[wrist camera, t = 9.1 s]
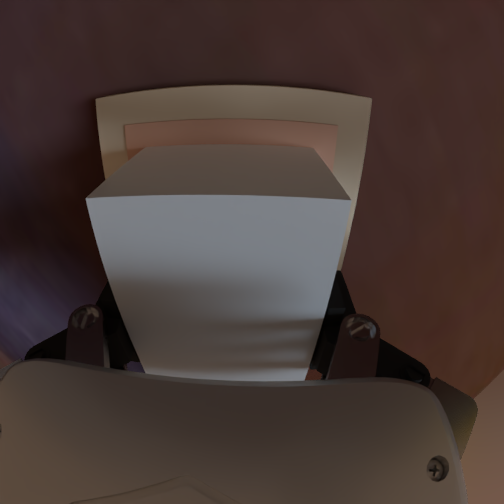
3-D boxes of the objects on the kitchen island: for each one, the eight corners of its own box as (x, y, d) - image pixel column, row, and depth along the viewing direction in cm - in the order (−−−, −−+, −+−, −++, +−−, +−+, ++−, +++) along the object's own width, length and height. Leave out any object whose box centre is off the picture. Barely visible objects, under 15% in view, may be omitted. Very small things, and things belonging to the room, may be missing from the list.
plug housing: (145, 146, 10) (85, 198, 6) (313, 147, 10) (351, 200, 6) (176, 332, 15) (161, 404, 12) (286, 336, 15) (293, 410, 12)
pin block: (109, 95, 9) (58, 110, 6) (360, 95, 10) (404, 108, 7) (155, 333, 17) (142, 382, 14) (313, 338, 17) (322, 389, 14)
